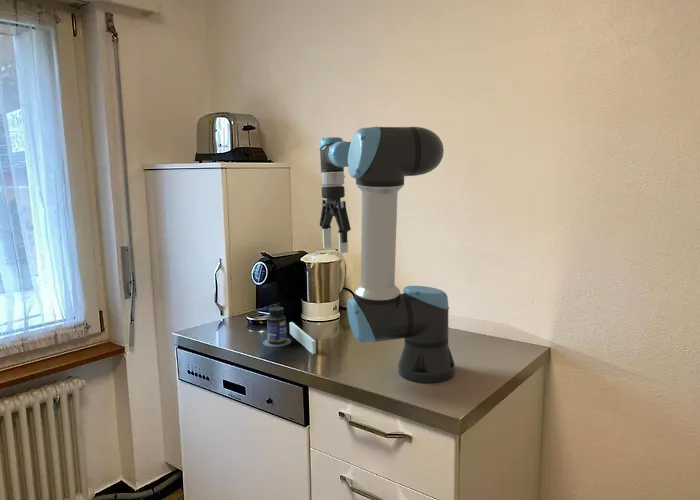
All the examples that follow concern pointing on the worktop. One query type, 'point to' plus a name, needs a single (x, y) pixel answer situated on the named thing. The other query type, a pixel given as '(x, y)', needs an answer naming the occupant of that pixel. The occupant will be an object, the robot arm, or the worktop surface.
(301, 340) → the divider wall
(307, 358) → the worktop surface
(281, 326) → the pill bottle
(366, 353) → the worktop surface
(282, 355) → the worktop surface
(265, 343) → the coaster
